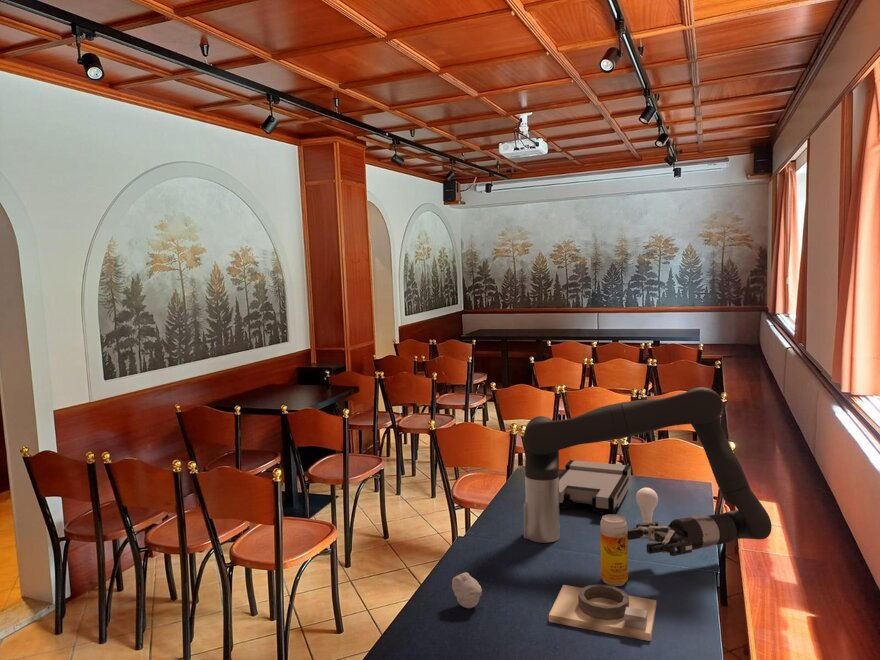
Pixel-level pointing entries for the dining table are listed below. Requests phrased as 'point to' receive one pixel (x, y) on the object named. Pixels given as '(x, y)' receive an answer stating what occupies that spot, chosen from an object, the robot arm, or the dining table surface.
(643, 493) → the lightbulb
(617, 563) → the beer can
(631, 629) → the board
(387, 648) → the dining table surface
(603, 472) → the game console
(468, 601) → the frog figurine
